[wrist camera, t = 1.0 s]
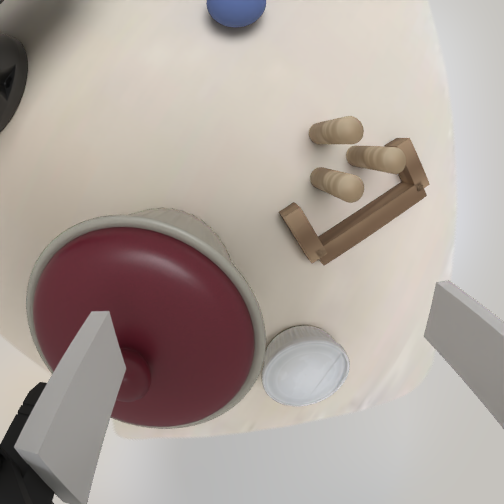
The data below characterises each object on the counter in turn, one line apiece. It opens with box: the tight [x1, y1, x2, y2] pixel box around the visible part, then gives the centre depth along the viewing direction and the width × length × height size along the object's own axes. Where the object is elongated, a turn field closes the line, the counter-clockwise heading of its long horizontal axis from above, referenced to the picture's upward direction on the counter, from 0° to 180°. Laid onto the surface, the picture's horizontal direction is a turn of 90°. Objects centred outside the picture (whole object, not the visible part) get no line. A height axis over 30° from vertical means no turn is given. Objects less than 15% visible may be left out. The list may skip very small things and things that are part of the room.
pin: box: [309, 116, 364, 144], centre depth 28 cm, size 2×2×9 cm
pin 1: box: [310, 167, 364, 203], centre depth 30 cm, size 2×2×9 cm
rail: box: [279, 138, 429, 265], centre depth 33 cm, size 7×17×3 cm, turn 123°
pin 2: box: [346, 146, 406, 174], centre depth 29 cm, size 2×2×9 cm
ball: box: [207, 0, 266, 27], centre depth 24 cm, size 6×6×6 cm
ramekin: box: [262, 326, 350, 406], centre depth 39 cm, size 11×11×5 cm
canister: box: [26, 208, 266, 429], centre depth 26 cm, size 18×18×21 cm
